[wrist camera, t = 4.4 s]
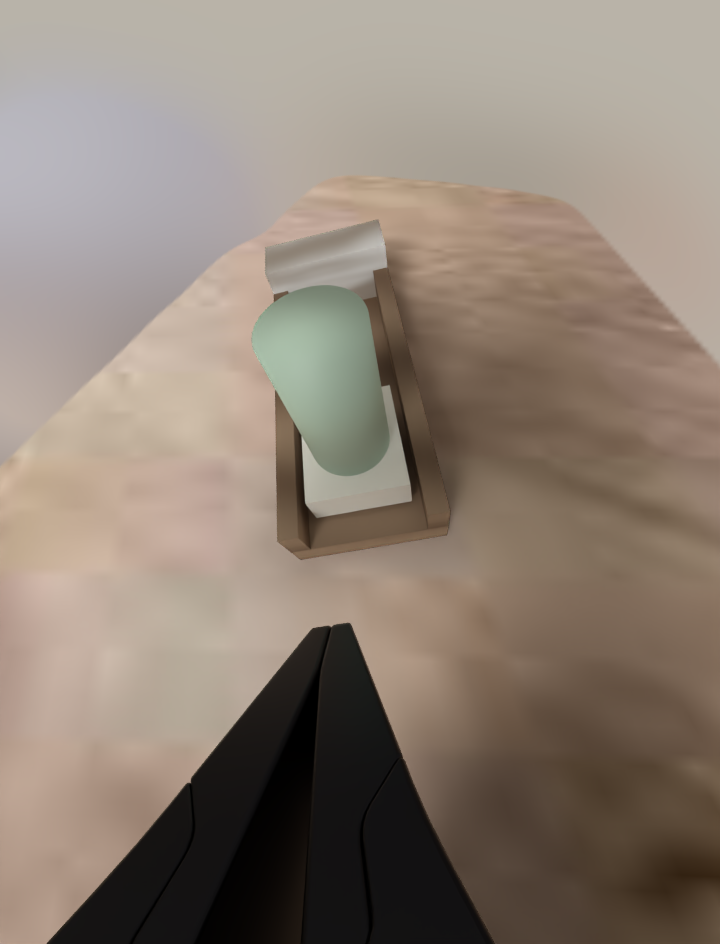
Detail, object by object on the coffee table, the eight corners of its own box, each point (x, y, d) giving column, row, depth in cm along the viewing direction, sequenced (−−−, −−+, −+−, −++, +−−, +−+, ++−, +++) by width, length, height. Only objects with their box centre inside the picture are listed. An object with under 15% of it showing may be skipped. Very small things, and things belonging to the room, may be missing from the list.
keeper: (412, 500, 18) (399, 378, 10) (316, 518, 19) (233, 412, 11) (392, 407, 21) (371, 253, 13) (310, 424, 22) (240, 285, 14)
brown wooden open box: (447, 535, 19) (452, 498, 15) (300, 559, 20) (264, 531, 16) (385, 284, 29) (377, 217, 25) (289, 306, 30) (265, 245, 25)
